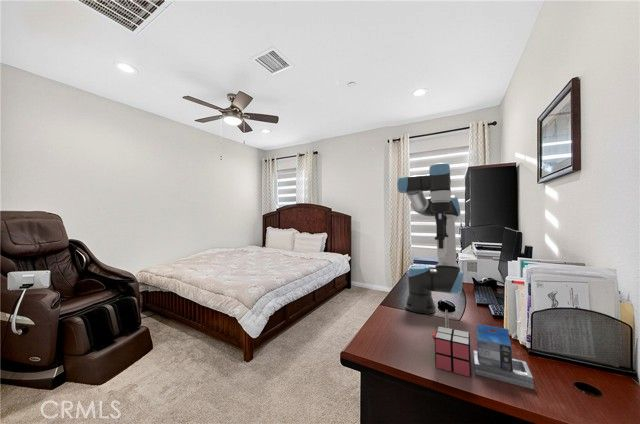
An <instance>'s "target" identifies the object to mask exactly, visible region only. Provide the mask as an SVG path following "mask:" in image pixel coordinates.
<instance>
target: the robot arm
mask: <svg viewBox="0 0 640 424" xmlns="http://www.w3.org/2000/svg"><path fill="white" fill-rule="evenodd" d="M428 170H429V171H428V174H422V175H419V174H418V175H409V176H402V177H399V178H397V182H396V183H397V184H396V185H397V191H398V193H399V194H406V195H407V197H408V200H409V201H410V206H411V208H412V210H413V211H414V212H415V213H417V214H419V215H421V216H424V217H434V220H435V225H436V235H435V236H434V240H436V249H437V252H436V254H437V261H438V263H437V264H435V268H432V267H431V266H430V265H414V266H410V267H408V269H407V270H408V271H407V278H408V279H407V280H408V281H407V282H408V283H407V284H408V295H407V298H406V301H405V308H406V307H407V308H408V309H409V310H411V311H414V312H418V313H417V314H419V313H425V314H424V315H430V313H432V314H435V313H436V312H437V308H436V307H437V306H436V304H435V301H434V298H433V295H432V292H436V293H444V294H451V295H453V294H454V295H459V294H461V293H462V289H463V281H464V280H463V279H464V271H463V270H461V267H460V266H459V265H458V264H457V248H456V247H457V244H456V243H457V242H456V221H457V220H458V219H459V217H460V216H461V209H460V208H461V206H460V202H459V198H458V197H457V196H456V195H452V191H451V184H452V180H451V168H450V164H449V163H447V162H439V163H434V164H431V165H430V166H429V169H428ZM424 192H430V194H429V195H428V196H425V194H424ZM409 310H408V311H409ZM411 311H410V312H411ZM435 311H436V312H435ZM414 312H413V313H414Z"/></svg>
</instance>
